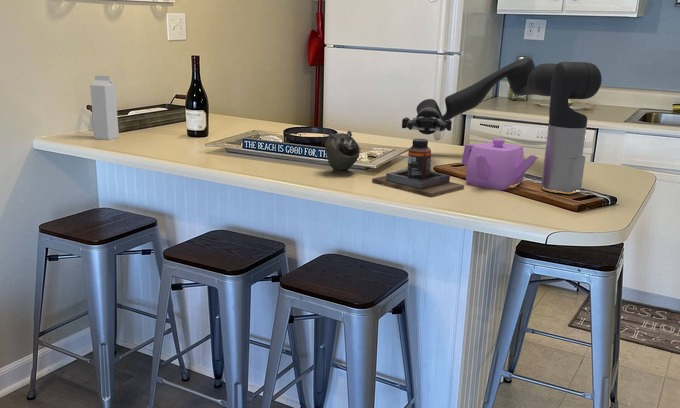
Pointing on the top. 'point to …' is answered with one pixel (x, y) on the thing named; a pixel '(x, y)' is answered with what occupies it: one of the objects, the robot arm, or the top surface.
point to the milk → (104, 108)
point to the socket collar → (402, 179)
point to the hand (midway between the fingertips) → (425, 126)
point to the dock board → (427, 192)
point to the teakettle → (495, 164)
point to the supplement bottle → (419, 160)
